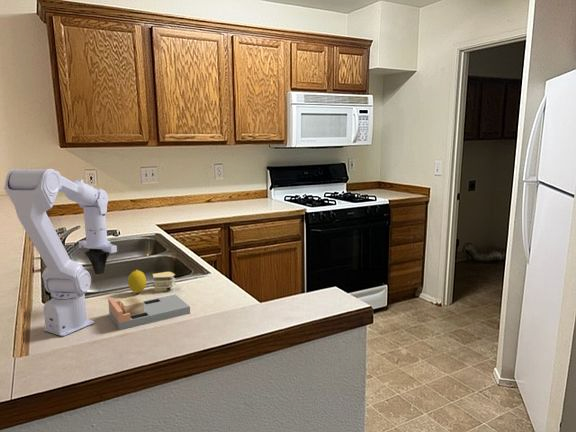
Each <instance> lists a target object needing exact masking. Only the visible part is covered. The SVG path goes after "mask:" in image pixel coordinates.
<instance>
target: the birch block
mask: <svg viewBox="0 0 576 432" xmlns="http://www.w3.org/2000/svg"><path fill="white" fill-rule="evenodd" d="M143 301H144V300H142V298H140V296H136V297H131V298H126V299H122V300H120V306H121V309H122V311H123V314H127V313H130V315H135V314H139V313H144V302H143Z"/></svg>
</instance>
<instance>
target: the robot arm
mask: <svg viewBox="0 0 576 432" xmlns="http://www.w3.org/2000/svg"><path fill="white" fill-rule="evenodd" d="M3 188H4V191H5V192H6V194H7V196H8V197H9V199H10V201H11V202H12V205H13V207H14V209H15V213H16V215H17V219H18V220H19V222H20V224H21V225H22V227H23V228H24V231H25V232H26V234H27V235H28V237H29V239H30V240H31V242H32V244H33V246H34V248H35V249H36V251H37V252H38V254H39V256H40V258H41V259H42V261H43V263H44V265H45V266H46V267H45V269H44V270H43V272H42V274H41V278H42V279H43V282H44V289H45V290H46V292H48V294H50V297H52V298H51V299H50V300H48V301H45V302H44V305H43V316H44V325H45V327H44V328H43V330H44V331H46V332H48V333H50V334H54V335H57V336H60V337H65V336H67V335H69V334H72V333H74V332H77V331H80V330H82V329H83V328H84V329H85V328H86V327H88V326H91V325H93V324H95V321H94V320H92V319H88V318H87V307H86V305H87V304H86V297H85V294H86V293H87V292H89V291H88V290H89V289H90V287H91V284H92V277H91V274H90V272H89V270H86V269H85V268H84V267H83V265H82V264H81V263H79V262H77V261H74V260H72V259H71V258H70V256H69V254H68V251H67V250H66V248H65V246H64V244H63V243H62V241H61V239H60V236H59V235H58V232H57V231H56V229H55V228H54V225H53V223H52V222H51V220H50V218H49V216H48V214H47V211H49V210H51V209H52V208H53V206H54V203H55V201H56V198H57V196H58V193H59V192H60V193H62V194H64V195H65V197H66V198H67V199H68V200H69V201H72V202H75V203H77V204H78V206H79V207H80V208H81V209H83V219H84V230H85V231H84V233H85V239H83V240H80V241H78V248H79V249H82V248H84V249H88V251H85V252H84V255H86V257H87V258H88V260H89V262H90V263H91V264H90V265H91V266H92V269H93V271H94V274H95V275H102V274H104V273H105V268H106V263H107V261H108V257H109V255H110V254H115V253H118V246H117V245H115V244H113V243H111V241H110V240H108V230H107V219H106V214H107V211H108V203H109V196H108V193H107V191H105V190H104V189H103V188H95V187H93V185H92V184H87V183H85V182H84V180H83V179H82V178H81V179H74V180H70V179H68V178H67V177H64V176H63V175H61V173H60V171H58V170H55V169H53V168H45V169H41V168H40V169H39V168H37V169H34V168H33V169H32V168H30V169H28V168H27V169H23V168H11V170H10V171H8V173H7V175H6V178H5V183H4V187H3Z"/></svg>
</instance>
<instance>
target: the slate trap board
mask: <svg viewBox="0 0 576 432" xmlns="http://www.w3.org/2000/svg"><path fill="white" fill-rule="evenodd" d="M142 301H143V302H144V313H139V314H135V315H130V317H131V320H130V321H125V322H121V323H119V322H118V321H117V319H116V318H115V317H114V315H113V314H112V312H111V311H110V309H109V308H108V314H109V316H110V318H111V319H112V321H113V322H114V323H113V324H115V326H116V327H117V329H118V330H119V331H122V330H126V329H129V328H130V329H131V328H134V327H138V326H143V325H146V324H147V325H148V324H151V323H154V322H156V323H157V322H159V321H164V320H167V319H172V318H175V317H180V316H181V317H182V316H185V315H188V314H191V307H190V305H188V304H187V302H185V301H184V300H183V299H181V298H180V296H178V295H177V294H171V295H167V296H162V297H157V298H156V297H155V298H152V299H146V300H142ZM120 308H121V307H120Z"/></svg>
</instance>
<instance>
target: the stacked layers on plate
mask: <svg viewBox="0 0 576 432" xmlns="http://www.w3.org/2000/svg"><path fill="white" fill-rule="evenodd" d="M152 276H153V277H152V279H153V283H152V284H153V289H154V291H155V293H158V292H165V291H168V289H172V288H174V287H176V285H177V284H176V283H175V280H176V278H175V277H174V276H176V273H174V272H172V271H163V272H157V273H152Z"/></svg>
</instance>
